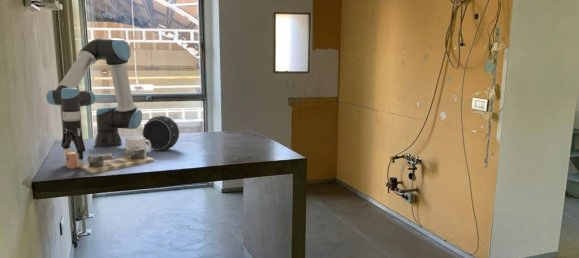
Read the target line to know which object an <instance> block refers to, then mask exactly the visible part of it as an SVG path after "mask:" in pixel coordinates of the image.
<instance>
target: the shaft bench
mask: <svg viewBox="0 0 579 258" xmlns="http://www.w3.org/2000/svg"><path fill="white" fill-rule="evenodd" d="M144 153H145V149H144V148H131V150H127V151H126V150H122V152H121V154H122V157H119V158H113V154H112V153H111V152H110V153H105V154H98V153H96V154H95V153H94V154H90V155H88V156H87V158H86V161H87V163H85V164H84V165H83V166H79V167H78V168H79V170H82V169H83V171H84V172H85V171H86V172H89V173H90V174H93V173H94V174H99V173H104V172H109V171H113V170H119V169H123V168H129V167H134V166H140V165H142V164H143V165H144V164H149V163H154V162H155V159H154V158H152V157H148V156H146V157H145V156H144ZM127 156H129V157H127ZM98 172H99V173H98Z"/></svg>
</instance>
